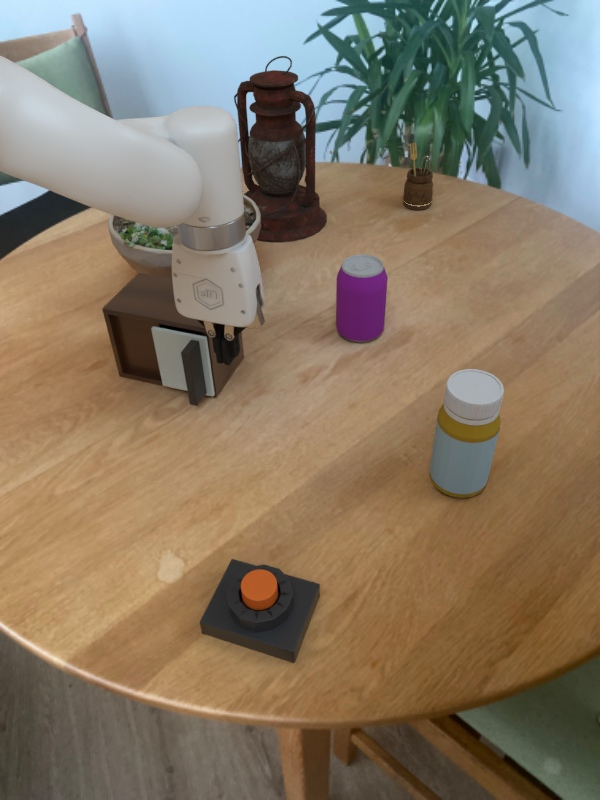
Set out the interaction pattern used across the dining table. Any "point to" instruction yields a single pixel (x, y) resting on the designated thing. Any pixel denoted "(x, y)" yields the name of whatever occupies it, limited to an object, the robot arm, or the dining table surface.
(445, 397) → the bottle
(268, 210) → the lantern
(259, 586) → the button
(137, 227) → the planter
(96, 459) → the dining table surface
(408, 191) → the utensil holder
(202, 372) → the door
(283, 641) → the switch box
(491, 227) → the dining table surface
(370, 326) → the beverage can
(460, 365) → the dining table surface
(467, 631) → the dining table surface
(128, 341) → the cabinet
